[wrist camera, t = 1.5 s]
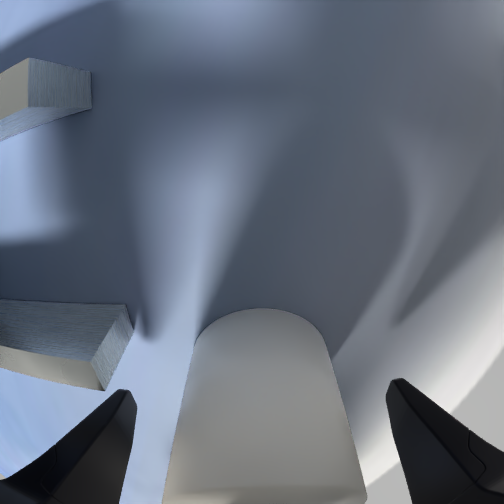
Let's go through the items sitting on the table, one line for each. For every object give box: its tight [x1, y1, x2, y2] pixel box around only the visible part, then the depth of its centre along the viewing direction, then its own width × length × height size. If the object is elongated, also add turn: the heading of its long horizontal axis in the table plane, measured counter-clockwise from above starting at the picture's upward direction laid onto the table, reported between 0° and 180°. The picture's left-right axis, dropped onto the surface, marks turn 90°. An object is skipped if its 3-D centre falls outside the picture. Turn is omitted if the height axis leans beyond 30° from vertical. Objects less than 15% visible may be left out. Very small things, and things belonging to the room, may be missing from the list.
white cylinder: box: [162, 308, 367, 504], centre depth 7 cm, size 5×5×8 cm
